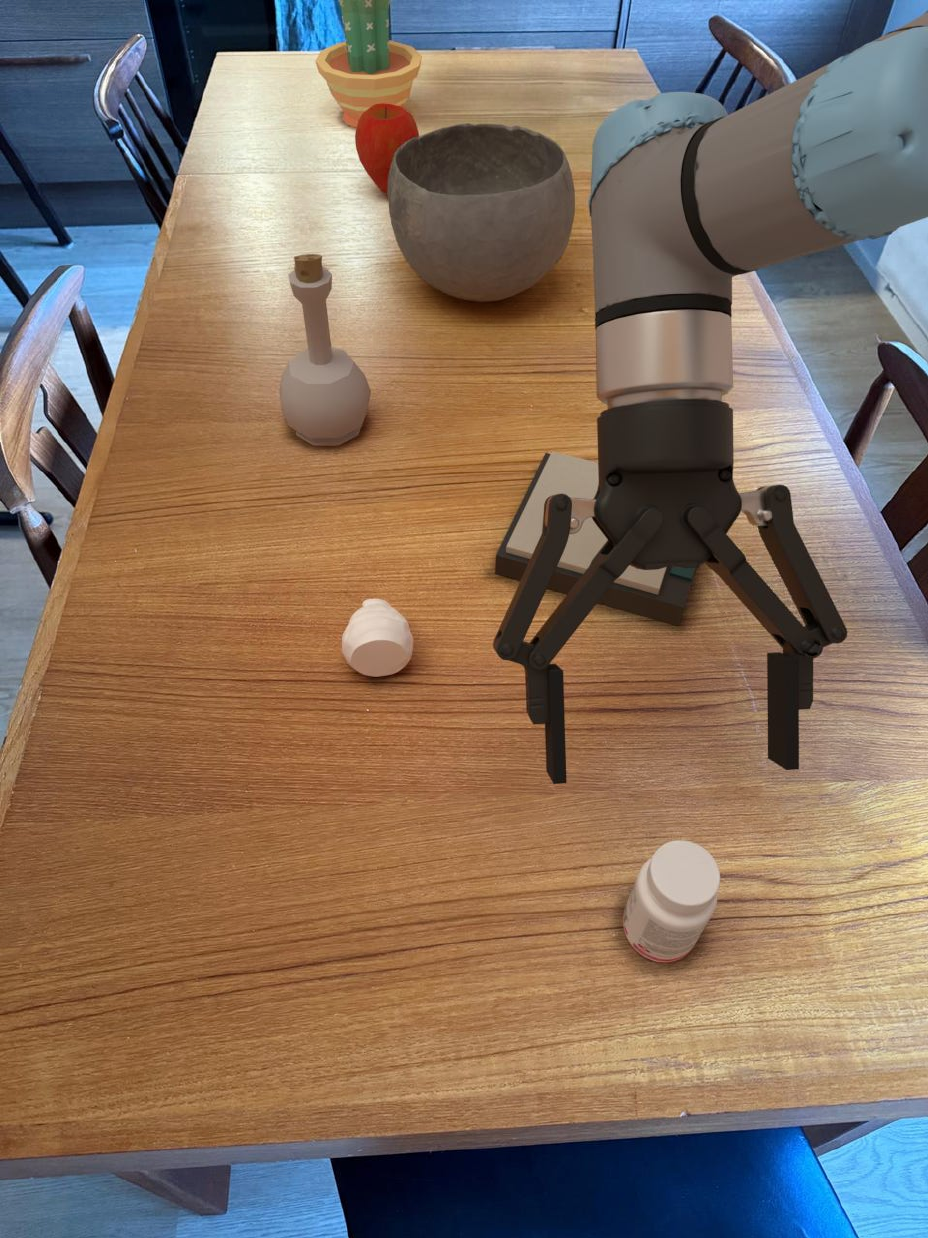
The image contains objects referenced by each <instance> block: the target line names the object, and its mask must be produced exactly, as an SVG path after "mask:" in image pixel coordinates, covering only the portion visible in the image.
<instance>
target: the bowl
mask: <svg viewBox="0 0 928 1238" xmlns="http://www.w3.org/2000/svg"><path fill="white" fill-rule="evenodd" d="M573 178H574V177H573V172H572V170H571V166H570V162H569V160H568V158H567V156H566V153H565V151H564V150H563V148H562V147H561V146H560V144H558V143H557V142H556V141H555V140H553V139H552V138H551V137H548V136H546V135H545V134H543V133H541V132H539V131H535V130H533V129H529V128H527V127H523V126H520V125H514V126H508V125H505V124H498V123H497V124H495V123H478V124H473V123H467V122H466V123H460V124H459V123H458V124H454V125H450V126H445V127H440V128H438V129H436V130H435V129H434V130H432V131H430V132H427V133H424V134H422V135H419V137H414V138H412V139H410V140H408V141H406V142H405V143H404V145H401V147H400V148H398V149H397V151H396V152H395V154H394V157H393V160H392V163H391V167H390V171H389V177H388V193H387V194H386V196H387V204H388V213H389V217H390V223H391V227H392V231H393V234H394V237H395V240H396V243H397V245H398V248H399V250H400V252H401V254H402V256H403V258H404V259H405V262H407V264H408V265H409V266H410V268H411V269H412V270H413V271H414V272H415V273H416V274H417V275H418V276H419V277H420V279H422V280H423V281H425V282H426V283H427V284H428V285H430V286H431V287H433V288H434V289H435V290H437V291H439V292H441V293H443V294H446V295H448V296H451V297H453V298H455V299H456V298H457V299H459V300H465V301H470V302H477V303H488V302H497V301H500V300H506V299H509V298H510V297H513V296H515V295H517V294H520V293H522V292H524V291H526V290H528V289H530V288H531V287H532V286H534V285H535V284H538V283H539V282H540V281H541V280H542V279H543V278H544V277H545V276H546V275H547V274H548V273H550V271H551V270H552V268H554V266H556V265H557V264H558V263H559V261H561V259H562V258H563V255H564V254H565V252H566V250H567V248H568V244H569V242H570V238H571V235H572V230H573V225H574V221H575V214H576V189H575V185H574V184H575V183H574V179H573Z"/></svg>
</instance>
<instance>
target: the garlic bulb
mask: <svg viewBox="0 0 928 1238" xmlns="http://www.w3.org/2000/svg"><path fill="white" fill-rule="evenodd" d="M413 649H414V637H413V635H412V632H411V629H410V624H409V622H408V620H407V618H406V617H405V616H404V615H403V614H401V612H399V611H398V610H397V608H395V607H393V606H392V605H391V604H390V603H389V602H388V601H387V600H385V599H382V598H377V597H376V598H375V597H374V598H368V599H365V600H363V602H362V604H361V607H360V608H358V609H357V610H355V612H354V613H353V614H352V615H351V617H350V619H349V621H348V624H347V626H346V628H345V629H344V631H343V633H342V636H341V653H342V655H343V657H344V658H345V660H346V663H347V664H348V665H349V666H350V667H351V668H352V669H354V670H355V671H356V672H357V673H359V674H361V675H364V676H368V677H374V678H375V677H376V678H377V677H384V676H389V675H394V674H396V673H398V672H400V671H401V670H403V669H404V668H405V667H406V666H407V665H408V663H409V662H410V661H411V659H412V657H413Z"/></svg>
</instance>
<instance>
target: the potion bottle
mask: <svg viewBox="0 0 928 1238" xmlns="http://www.w3.org/2000/svg"><path fill="white" fill-rule="evenodd" d="M293 259H294V260H293V261H294V267H293V270H292V271H291V272H289V273H288V281H289V285H290V289H291V291H292V294H293V297H294V298H295V299H296V300H297V302H299V303H300V304H301V307H302V314H303V315H302V316H303V320H304V321H303V322H304V328H305V329H304V330H305V335H306V343H307V349H302V350H301V351H300V352H298V353H297V354H296V355H295V356H294V357H293V358H291V359H290V360H289V361H288V363H287V365H286V366H285V368H284V370H283V372H282V373H281V375H280V382H279V383H280V384H279V401H280V408H281V409H280V410H281V413H282V415H283V417H284V419H285V421H286V423H287V425H288V427H289V428H291V429H293V430H294V431H295V435H296V436H297V437H298V438H299V439H301V440H304V441H305V442H306V443H308V444H310V445H312V446H315V447H320V446H321V447H325V446H326V447H329V446H332V447H335V446H336V447H337V446H341V445H343V444H344V443H347V442H348V441H351V440H353V439H354V438H356V437H358V436H359V434H360V432H361V428H362V426H363V424H364V421H365V418H366V416H367V412H368V409H369V404H370V399H371V394H372V390H371V387H370V385H369V382H368V380H367V376H366V374H365V373H364V372H363V371H362V369H361V368H360V367H359V365H357V363H356V362H355V361H354V360H353V359H352V358H351V356H350V355H349V354H348V352H346V351H345V350H344V349H340V348H335V347H332V340H331V332H330V324H329V315H328V307H327V299H328V297H329V296H330V293H331V291H332V288H333V287H332V285H333V273H332V272H331V271H329V269H328V268H327V267H325V266H323V256H322V255H321V254H318V253H317V254H316V253H306V254H299V255H296V256H293Z"/></svg>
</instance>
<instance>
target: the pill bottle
mask: <svg viewBox="0 0 928 1238" xmlns="http://www.w3.org/2000/svg"><path fill="white" fill-rule="evenodd" d="M718 865H719V864H718V863H717V861H716V859H715V858H714V857H713V855H712V854H711V853H710V852H709V851H708V850H707V849H705V848H704V847H703V846H701V845H699V844H698V843H695V842H693V841H689V840H685V839H676V840H670V841H668V842H666V843H663V844H662V845H661V846H659V847H658V848H657V849H656V850H655V852H654V853H653V855H652V856H651V857H650V858H649V859H647V860H646V861H645V862H644V864H643V865H642V867H641V868H640V869H639V871H638V873H637V876H636V879H635V882H634V884H633V886H632V889H631V892H630V894H629V896H628V900H627V902H626V904H625V907H624V911H623V914H622V915H623V916H622V926H623V931H624V934H625V937H626V939H627V941H628V942H629V944H630V946H631V947H632V948H633V949H634V950H635V951H636V952H637V953H638V954H640V955H641V956H642V957H644V958H646V959H648V960H650V961H653V962H657V963H673V962H676V961H679V960H681V959H683V958H684V957H686V956H688V954H689V953H691V951H692V950H693V949H694V947H695V945H696V943H697V942H698V940H699V939H700V937H701V934H703V931H704V929H705V928H706V927H707V925H708V923H709V921H710V919H711V918H712V916H713V915H714V912H715V910H716V907H717V904H718V895H719V894H718V893H719V892H718V891H719V889H720V886H721V873H720V867H719V866H718Z"/></svg>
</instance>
